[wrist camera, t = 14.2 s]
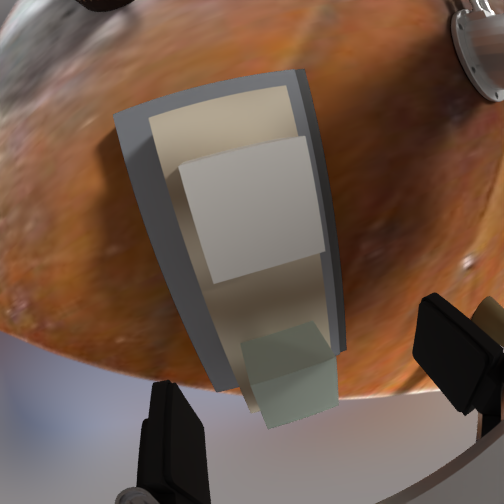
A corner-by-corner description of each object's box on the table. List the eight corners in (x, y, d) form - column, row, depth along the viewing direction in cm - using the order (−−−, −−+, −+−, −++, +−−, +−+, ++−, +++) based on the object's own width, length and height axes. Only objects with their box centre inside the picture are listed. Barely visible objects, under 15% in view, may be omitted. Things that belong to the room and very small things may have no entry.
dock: (124, 118, 18) (112, 114, 15) (291, 77, 19) (305, 68, 16) (214, 371, 27) (216, 392, 24) (335, 333, 28) (347, 351, 25)
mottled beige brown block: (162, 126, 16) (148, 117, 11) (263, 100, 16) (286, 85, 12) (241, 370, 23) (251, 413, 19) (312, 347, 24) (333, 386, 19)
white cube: (184, 161, 12) (178, 166, 9) (279, 138, 13) (305, 135, 9) (210, 251, 14) (213, 283, 11) (297, 227, 14) (325, 251, 11)
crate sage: (240, 343, 16) (250, 385, 13) (312, 320, 17) (336, 357, 13) (257, 389, 18) (267, 429, 15) (319, 369, 18) (338, 405, 15)
